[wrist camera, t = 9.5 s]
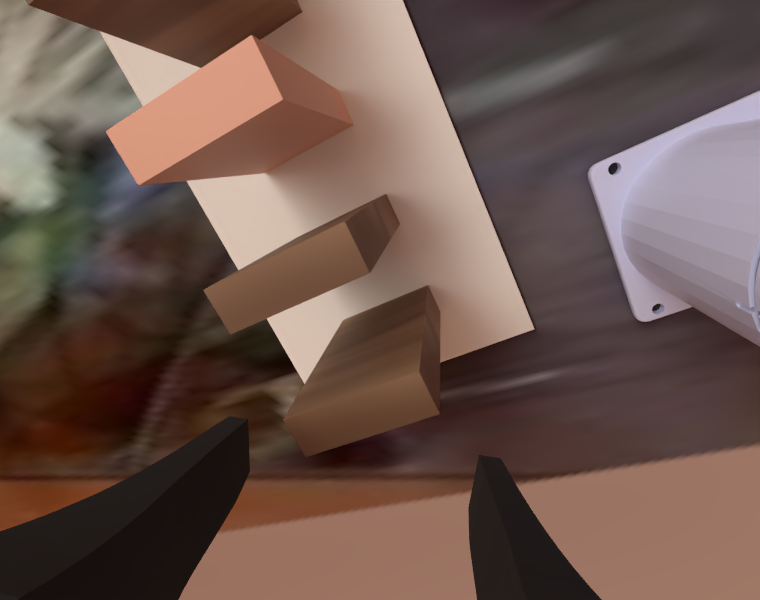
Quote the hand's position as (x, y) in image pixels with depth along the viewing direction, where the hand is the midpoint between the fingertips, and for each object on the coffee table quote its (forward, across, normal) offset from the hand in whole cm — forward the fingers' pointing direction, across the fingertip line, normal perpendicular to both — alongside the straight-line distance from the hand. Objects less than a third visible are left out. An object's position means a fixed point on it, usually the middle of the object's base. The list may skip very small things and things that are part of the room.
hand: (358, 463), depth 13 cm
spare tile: (+10, +5, -10) cm, 15 cm away
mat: (+10, +5, -9) cm, 14 cm away
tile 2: (+10, +3, -5) cm, 12 cm away
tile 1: (+10, 0, -1) cm, 10 cm away
